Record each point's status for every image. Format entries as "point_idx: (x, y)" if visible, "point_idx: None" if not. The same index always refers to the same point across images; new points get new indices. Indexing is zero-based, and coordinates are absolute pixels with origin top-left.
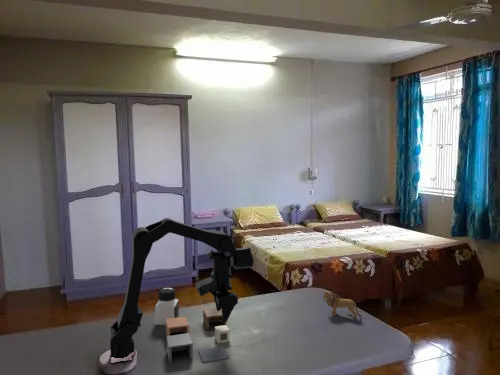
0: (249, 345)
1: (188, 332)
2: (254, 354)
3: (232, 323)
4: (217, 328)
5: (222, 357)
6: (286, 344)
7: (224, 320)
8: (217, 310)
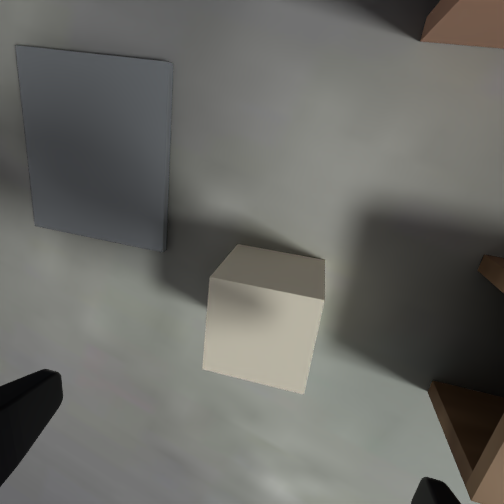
0: (143, 380)
1: (444, 7)
2: (54, 352)
3: None
4: (270, 301)
5: (39, 190)
6: (103, 497)
7: (25, 387)
8: (423, 483)
